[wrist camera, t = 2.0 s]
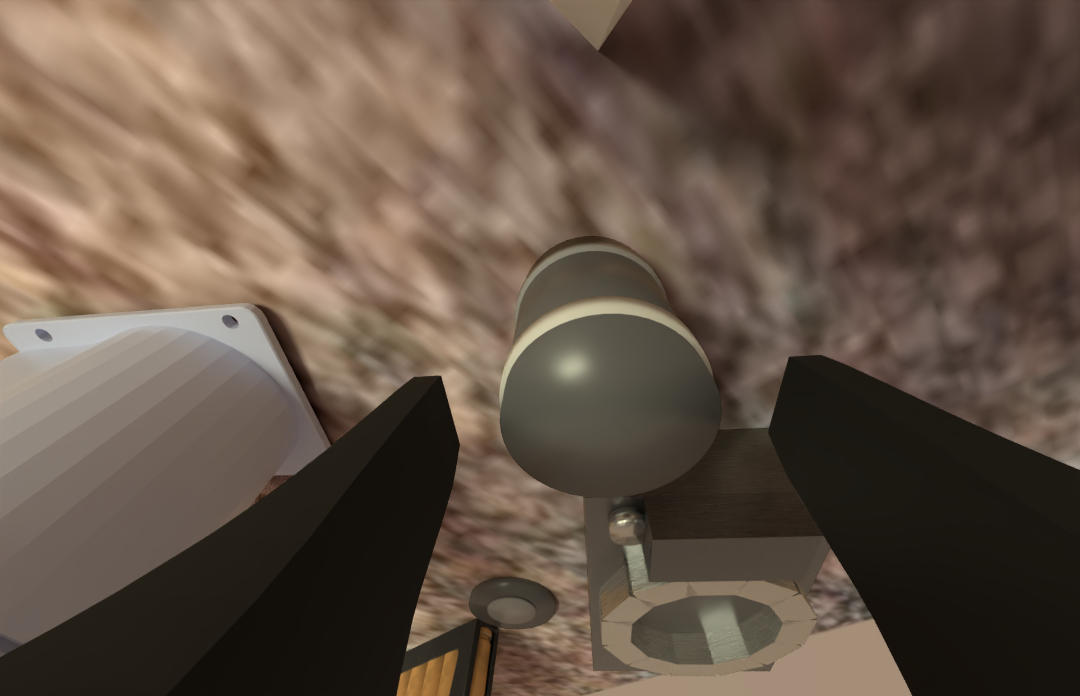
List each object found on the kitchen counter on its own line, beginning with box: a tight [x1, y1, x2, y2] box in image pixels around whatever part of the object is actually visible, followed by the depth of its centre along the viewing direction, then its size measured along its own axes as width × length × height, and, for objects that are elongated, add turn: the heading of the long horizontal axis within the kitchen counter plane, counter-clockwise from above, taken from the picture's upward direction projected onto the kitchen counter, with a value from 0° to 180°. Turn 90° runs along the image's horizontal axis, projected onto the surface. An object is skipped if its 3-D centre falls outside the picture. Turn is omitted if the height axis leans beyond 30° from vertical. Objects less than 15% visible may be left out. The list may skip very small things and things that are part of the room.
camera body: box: [583, 428, 831, 676], centre depth 17 cm, size 9×14×5 cm, turn 5°
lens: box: [499, 236, 722, 498], centre depth 10 cm, size 5×5×6 cm
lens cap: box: [469, 577, 555, 629], centre depth 23 cm, size 5×5×1 cm
